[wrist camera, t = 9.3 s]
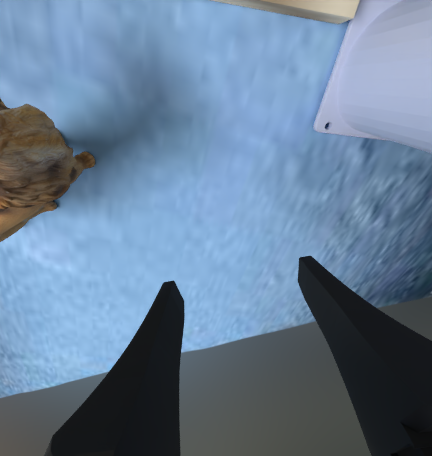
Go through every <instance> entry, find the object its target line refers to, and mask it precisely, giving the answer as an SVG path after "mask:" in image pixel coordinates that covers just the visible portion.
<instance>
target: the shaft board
mask: <svg viewBox="0 0 432 456" xmlns="http://www.w3.org/2000/svg"><path fill="white" fill-rule="evenodd" d="M211 1H217V2H222V3H227V4H233V5H238V6H243V7H249V8H254V9H259V10H265V11H270V12H275V13H281V14H286V15H292V16H297V17H302V18H308V19H313V20H318V21H324V22H329V23H334V24H341V23H343V22H346V21H348V20H350V19H353V18H354V15H355V12H356V10H357V7H358V4H359V1H360V0H211Z"/></svg>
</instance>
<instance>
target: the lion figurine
mask: <svg viewBox="0 0 432 456" xmlns="http://www.w3.org/2000/svg"><path fill="white" fill-rule="evenodd" d="M94 165H95V159H94V157H93V155H91V154H90V153H88V152H82V153H81V154H79V155H76V156H75V157H73V149H72V148H70V147H69V146H67V145H66V144H65V141H64V139H63V138H62V135H61V133H60V132H59V130H58V129H57V128H55V126H54V122H53V121H52V120H51V119H50V118H49V117H48V116H47V115H46V114H45V113H44V112H42V111H40V110H39V109H38V108H36V107H33V106H31V105H29V104H25V105H23V106H21V107H18V108H12V109H10V108H7V107H6V106H5V105H4V103H3V102H2V100H1V99H0V242H1V241H3V240H4V239H6V238H8V237H9V236H11V235H12V234H14V233H15V232H17V231H18V230H19V229H21V228H22V227H23V226H24V225H25V224H26V223H27V222H28V221H29V220H30V219H31V218H33V217H35V216H37V215H38V214H40V213H43V212H46V211H53V210H55V209H56V208H57V204H56V203H55V202H53V200H55V199H58V198H60V197H61V196H62V195H63V194H64V193H65V192H66V191H67V190H68V188H69V187H70V184H71V183H73V182H74V181H75V180H76V179H77V178H78V176H79V175H80V174H81V173H82V171H83V170H84V169H86V168H91V167H93V166H94Z"/></svg>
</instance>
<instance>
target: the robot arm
mask: <svg viewBox="0 0 432 456" xmlns="http://www.w3.org/2000/svg"><path fill="white" fill-rule="evenodd" d="M328 122H329V126H328V128H326V129H325V125H326V123H328ZM313 127H314V130H315V131H317V132H321V133H330V134H338V135H346V136H355V137H363V138H371V139H380V140H388V141H393V142H397V143H400V144H403V145H406V146H409V147H413V148H416V149H419V150H422V151H425V152H429V153H432V0H360V1H359V4H358V7H357V10H356V12H355V15H354V18H353V19H350V22H349V25H348V28H347V31H346V33H345V36H344V39H343V42H342V45H341V48H340V51H339V53H338V56H337V59H336V62H335V65H334V68H333V71H332V73H331V76H330V79H329V82H328V85H327V88H326V90H325V93H324V96H323V99H322V102H321V105H320V108H319V110H318V113H317V116H316V119H315V122H314V126H313ZM298 283H299V286H300V288H301V291H302V293H303V296H304V298H305V300H306V302H307V304H308V306H309V308H310V310H311V312H312V314H313V316H314V318H315V319H316V321H317V323H318V325H319V327H320V329H321V330H322V332H323V334H324V336H325V338H326V341H327V342H328V344H329V347H330V349H331V352H332V354H333V356H334V359H335V361H336V363H337V366H338V368H339V371H340V373H341V376H342V378H343V381H344V383H345V386H346V388H347V391H348V393H349V396H350V398H351V401H352V404H353V406H354V409H355V411H356V415H357V417H358V420H359V423H360V426H361V428H362V431H363V434H364V437H365V439H366V442H367V445H368V448H369V451H370V453H371V455H372V456H432V341H430V340H429V339H427V338H425V337H423V336H422V335H420V334H418V333H416V332H415V331H413V330H411V329H409V328H408V327H406V326H404V325H402V324H401V323H399V322H397V321H396V320H394V319H393V318H391V317H389V316H388V315H386V314H385V313H383V312H382V311H380V310H378V309H377V308H376V307H374V306H373V305H371V304H370V303H368V302H367V301H366V300H364V299H363V298H361V297H360V296H359V295H357V294H356V293H355V292H353V291H352V290H351V289H349V288H348V287H347V286H346V285H344V284H343V283H342V282H341V281H339V280H338V279H337V278H336V277H335V276H333V275H332V274H331V273H330V272H329V271H327V270H326V269H325V268H324V267H323V266H322V265H321V264H320V263H318V262H317V261H316V260H315V259H314V258H313V257H312V256H306V257H300V258H299V271H298ZM183 328H184V300H183V298H182V296H181V294H180V292H179V290H178V288H177V286H176V284H175V282H174V281H169V282H164V283H163V284H162V287H161V289H160V291H159V293H158V295H157V297H156V299H155V301H154V302H153V304H152V306H151V308H150V310H149V312H148V314H147V315H146V317H145V319H144V321H143V323H142V324H141V326H140V328H139V329H138V331H137V333H136V334H135V336H134V337H133V339H132V341H131V342H130V344H129V345H128V347H127V348H126V350H125V351H124V352H123V354H122V355H121V357H120V358H119V359H118V361H117V362H116V363H115V365H114V366H113V367H112V369H111V370H110V371H109V373H108V374H107V375H106V377H105V378H104V379H103V380H102V382H101V383H100V384H99V385H98V386H97V387H96V389H95V390H94V391H93V392H92V393H91V395H90V396H89V397H88V398H87V400H86V401H85V402H84V403H83V404H82V405H81V406H80V407H79V408H78V410H77V411H76V412H75V413H74V414H73V415H72V416H71V417H70V418H69V419H68V420H67V421H66V422H65V423H64V425H63V426H62V427H61V428H60V429H59V430H58V431H57V432H56V433H55V434H54V435H53V437H52V439H51V441H50V443H49V446H48V448H47V450H46V453H45V455H44V456H180V431H179V369H180V356H181V347H182V337H183Z"/></svg>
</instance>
